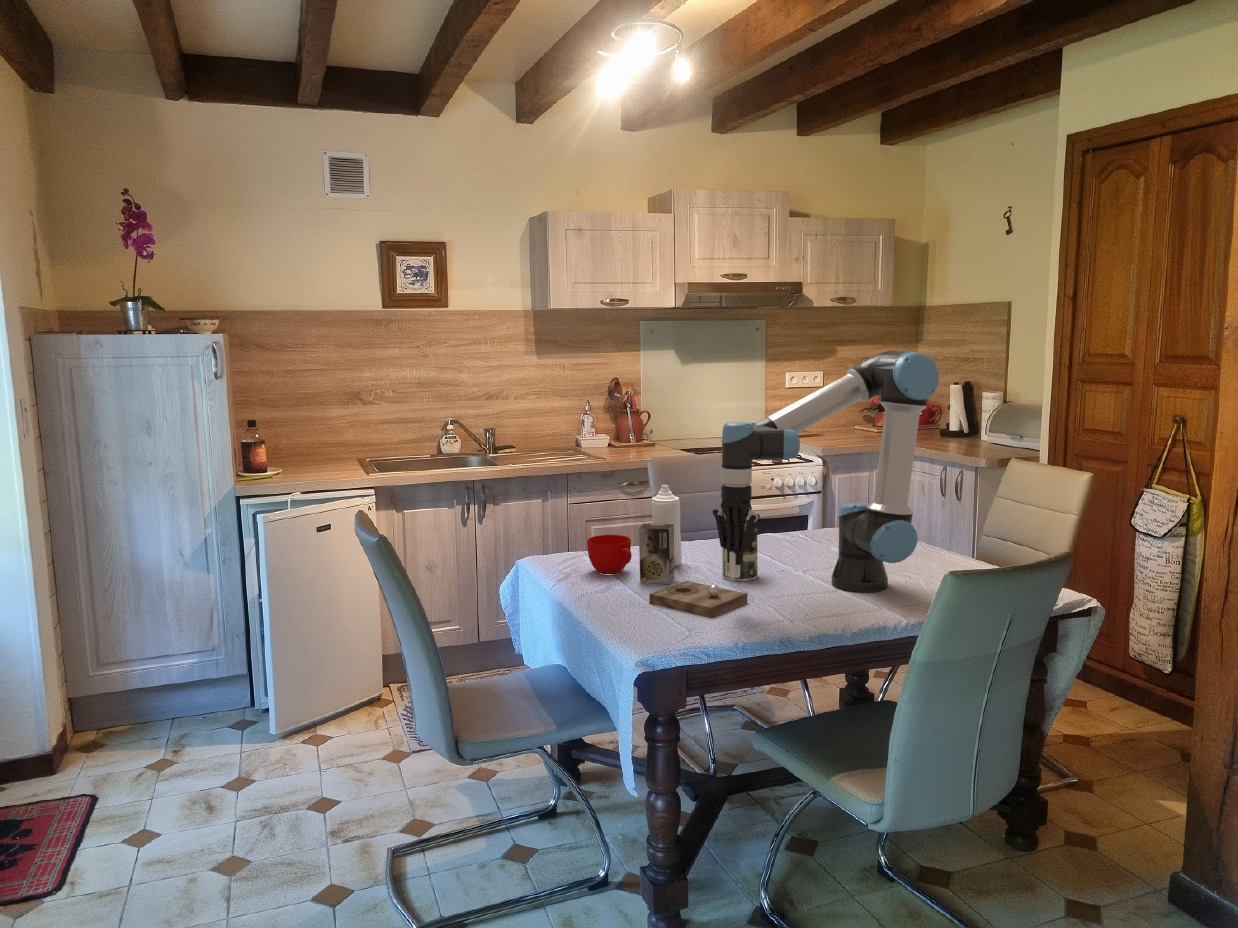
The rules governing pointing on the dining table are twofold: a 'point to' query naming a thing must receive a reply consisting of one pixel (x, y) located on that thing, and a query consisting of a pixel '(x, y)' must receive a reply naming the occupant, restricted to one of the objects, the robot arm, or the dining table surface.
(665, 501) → the spray can
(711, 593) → the steel ball
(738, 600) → the wooden board
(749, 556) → the coffee can
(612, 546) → the ceramic cup
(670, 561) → the coffee box
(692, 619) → the dining table surface
